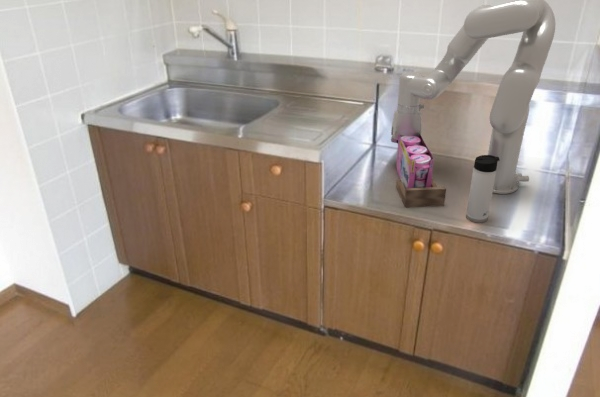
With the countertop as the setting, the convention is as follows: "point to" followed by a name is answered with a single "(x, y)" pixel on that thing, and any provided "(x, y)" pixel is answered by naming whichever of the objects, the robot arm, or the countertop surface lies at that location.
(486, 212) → the travel mug
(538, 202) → the countertop surface
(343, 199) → the countertop surface
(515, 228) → the countertop surface
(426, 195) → the brown wooden open box
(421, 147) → the gum box
